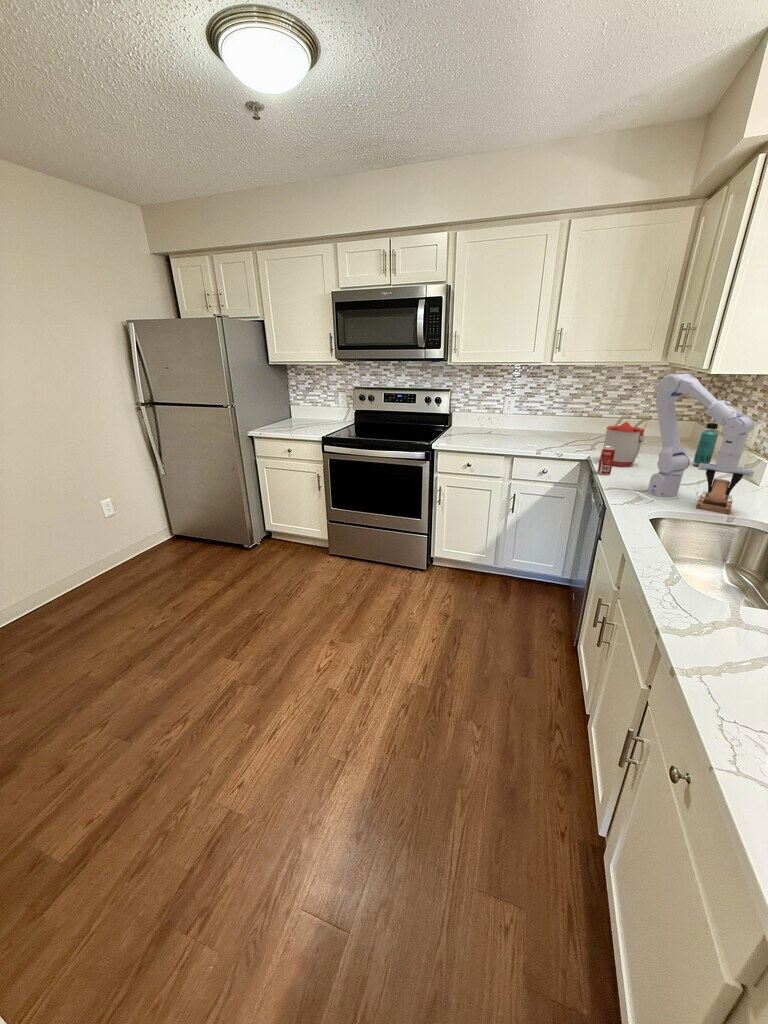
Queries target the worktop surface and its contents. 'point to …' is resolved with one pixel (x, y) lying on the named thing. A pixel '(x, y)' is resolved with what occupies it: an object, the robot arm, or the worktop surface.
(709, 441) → the beverage bottle
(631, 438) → the citrus juicer
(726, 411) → the robot arm
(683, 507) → the worktop surface
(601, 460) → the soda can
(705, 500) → the tray
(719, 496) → the tube
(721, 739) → the worktop surface
